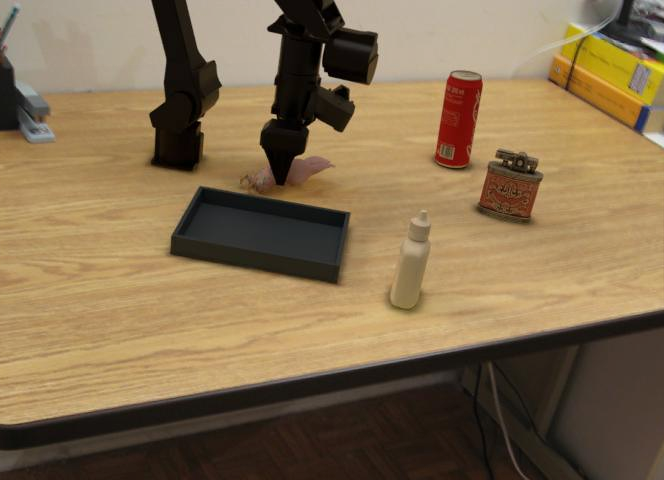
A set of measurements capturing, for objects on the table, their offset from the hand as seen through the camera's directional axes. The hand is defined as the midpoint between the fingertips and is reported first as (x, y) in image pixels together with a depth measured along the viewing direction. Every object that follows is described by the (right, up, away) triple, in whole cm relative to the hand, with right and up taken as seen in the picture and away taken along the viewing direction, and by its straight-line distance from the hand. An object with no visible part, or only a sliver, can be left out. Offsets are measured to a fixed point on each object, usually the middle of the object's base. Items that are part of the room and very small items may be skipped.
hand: (285, 172), depth 128 cm
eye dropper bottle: (+15, -18, -21) cm, 31 cm away
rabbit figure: (0, -2, +2) cm, 3 cm away
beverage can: (+27, +4, +18) cm, 33 cm away
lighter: (+33, -6, +3) cm, 33 cm away
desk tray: (-3, -11, -13) cm, 17 cm away
